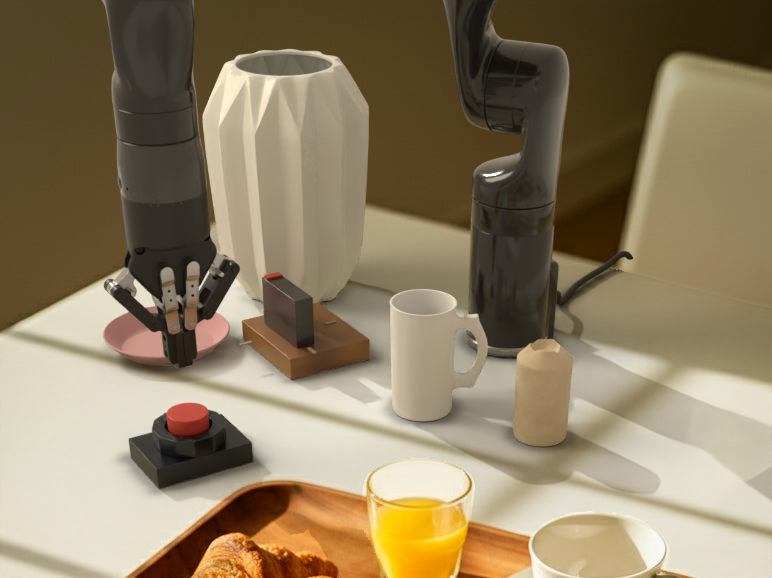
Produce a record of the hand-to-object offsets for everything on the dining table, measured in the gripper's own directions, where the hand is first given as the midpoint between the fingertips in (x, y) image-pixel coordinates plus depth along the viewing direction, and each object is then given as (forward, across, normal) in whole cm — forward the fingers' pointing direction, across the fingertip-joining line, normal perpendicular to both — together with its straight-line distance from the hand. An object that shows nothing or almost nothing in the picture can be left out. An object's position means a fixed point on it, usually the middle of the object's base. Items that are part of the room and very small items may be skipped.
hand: (181, 364), depth 127 cm
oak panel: (+10, +20, +16) cm, 27 cm away
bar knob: (+8, +19, +16) cm, 26 cm away
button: (+7, 0, -1) cm, 7 cm away
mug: (+11, +26, -4) cm, 29 cm away
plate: (+11, +8, +25) cm, 28 cm away
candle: (+11, +32, -14) cm, 37 cm away
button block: (+10, 0, -1) cm, 10 cm away
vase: (+11, +28, +32) cm, 44 cm away
